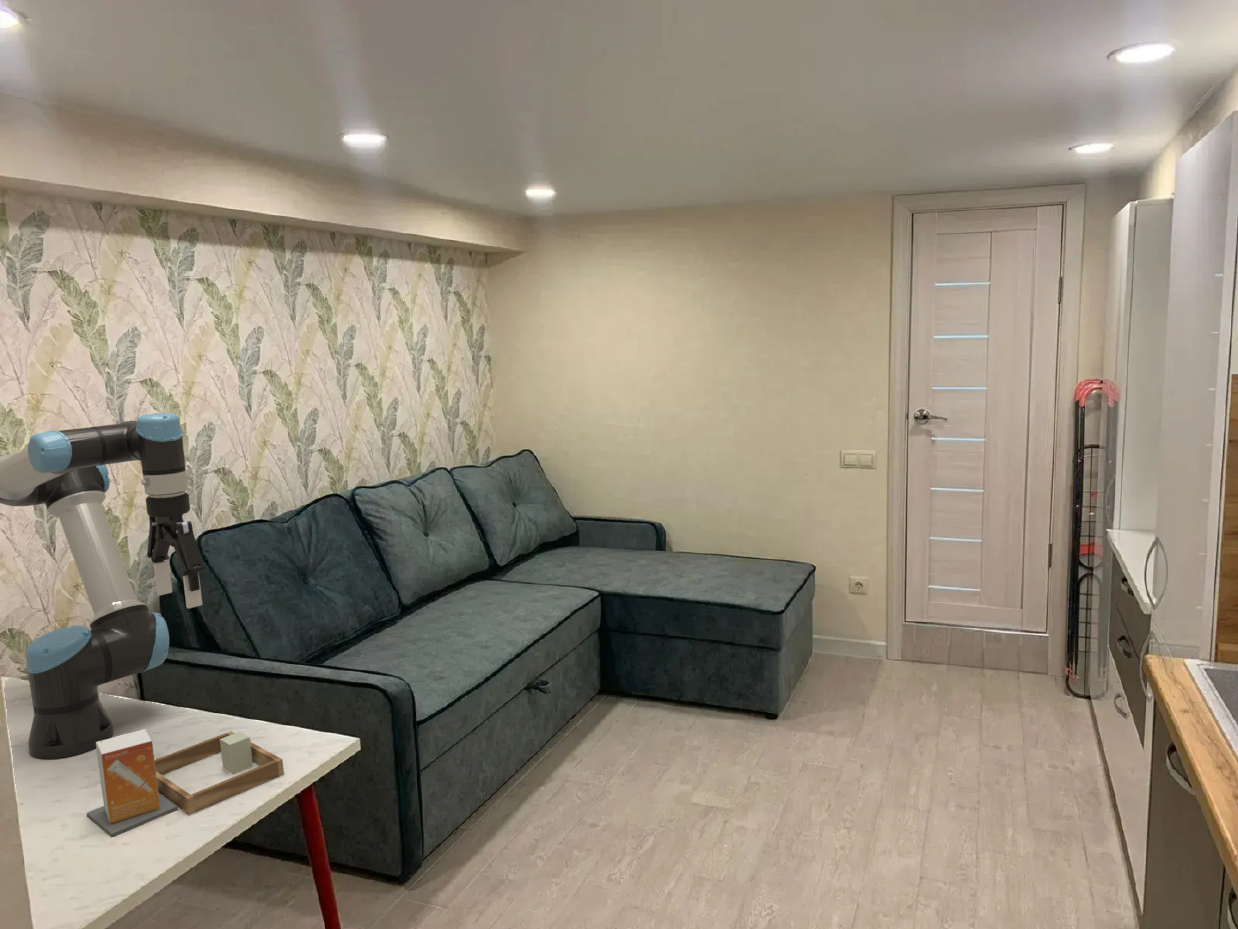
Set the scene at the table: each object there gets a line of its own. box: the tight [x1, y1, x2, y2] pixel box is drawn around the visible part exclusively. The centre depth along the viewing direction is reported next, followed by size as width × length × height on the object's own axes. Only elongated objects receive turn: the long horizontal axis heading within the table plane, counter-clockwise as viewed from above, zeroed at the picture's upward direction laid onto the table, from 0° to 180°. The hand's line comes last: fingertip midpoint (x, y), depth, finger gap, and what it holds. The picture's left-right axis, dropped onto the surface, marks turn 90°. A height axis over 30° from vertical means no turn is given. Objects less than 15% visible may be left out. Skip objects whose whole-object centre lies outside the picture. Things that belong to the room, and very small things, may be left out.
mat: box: [86, 793, 179, 838], centre depth 164 cm, size 11×11×1 cm
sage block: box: [220, 731, 254, 775], centre depth 179 cm, size 4×4×6 cm
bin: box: [154, 730, 285, 815], centre depth 175 cm, size 20×18×3 cm
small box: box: [95, 728, 160, 824], centre depth 163 cm, size 8×6×13 cm
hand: (179, 600), depth 182 cm, fingers open, 13 cm apart
